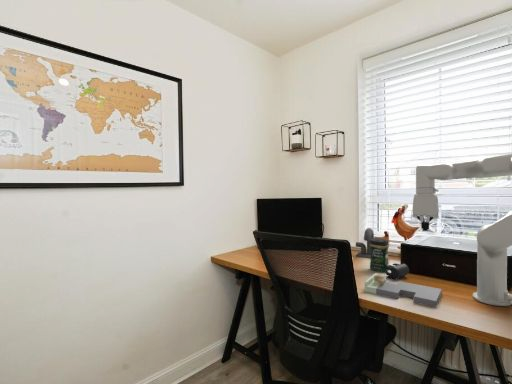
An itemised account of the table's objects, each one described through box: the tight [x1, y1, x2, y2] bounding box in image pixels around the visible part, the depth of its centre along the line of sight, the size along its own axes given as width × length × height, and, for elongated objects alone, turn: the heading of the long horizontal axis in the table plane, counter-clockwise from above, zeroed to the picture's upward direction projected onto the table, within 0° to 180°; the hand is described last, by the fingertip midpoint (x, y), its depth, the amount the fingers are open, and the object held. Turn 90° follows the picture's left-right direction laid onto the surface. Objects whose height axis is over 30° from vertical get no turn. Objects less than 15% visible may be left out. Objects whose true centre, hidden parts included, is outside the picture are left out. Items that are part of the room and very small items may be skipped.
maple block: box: [373, 272, 386, 285], centre depth 135 cm, size 4×4×4 cm
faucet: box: [355, 227, 375, 260], centre depth 188 cm, size 18×16×20 cm
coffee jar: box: [369, 236, 390, 273], centre depth 162 cm, size 10×8×19 cm
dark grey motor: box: [385, 263, 410, 281], centre depth 150 cm, size 10×7×7 cm
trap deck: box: [364, 272, 443, 308], centre depth 129 cm, size 28×16×4 cm, turn 51°
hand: (425, 230), depth 134 cm, fingers closed
